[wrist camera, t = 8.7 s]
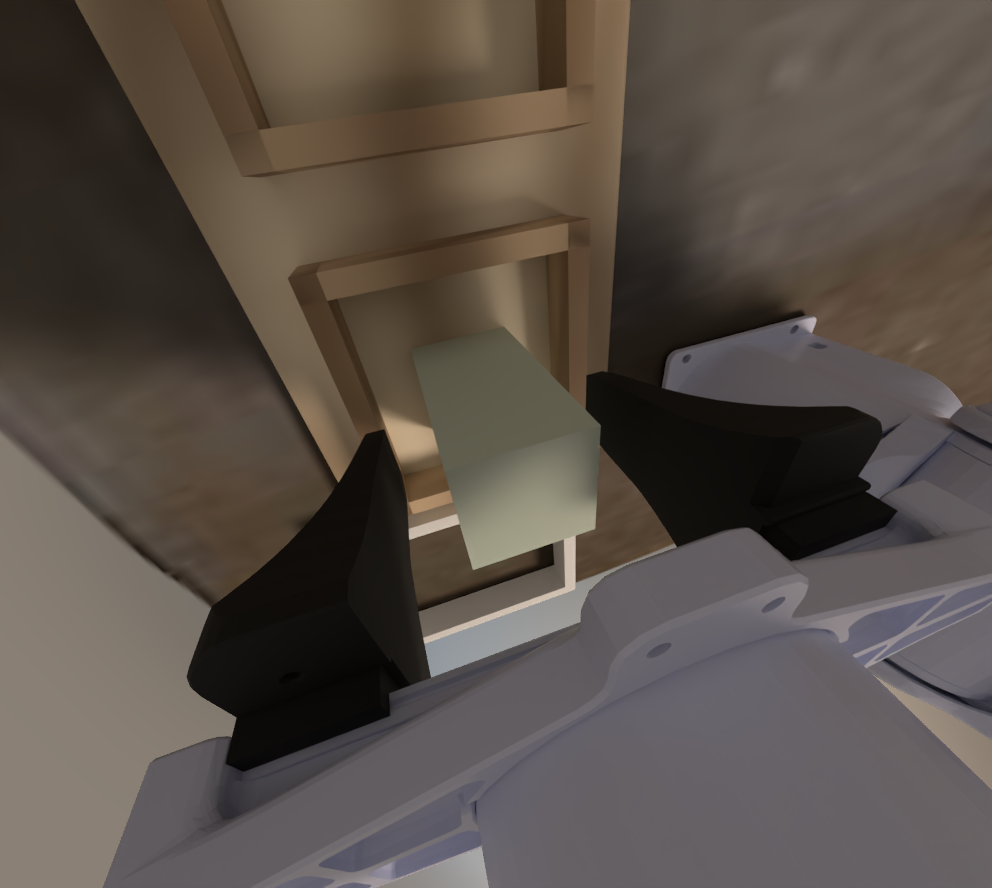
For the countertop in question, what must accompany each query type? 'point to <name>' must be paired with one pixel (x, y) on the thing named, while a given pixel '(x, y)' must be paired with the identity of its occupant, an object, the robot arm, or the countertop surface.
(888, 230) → the countertop surface
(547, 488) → the block
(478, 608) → the rectangular frame
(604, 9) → the wooden divided tray
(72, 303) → the countertop surface
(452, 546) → the countertop surface
